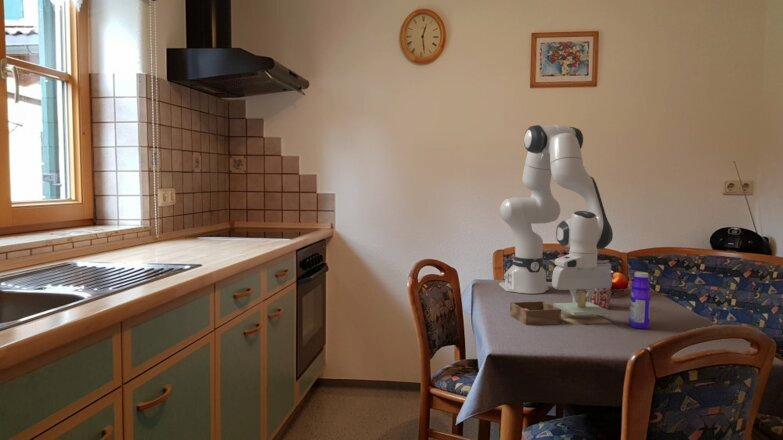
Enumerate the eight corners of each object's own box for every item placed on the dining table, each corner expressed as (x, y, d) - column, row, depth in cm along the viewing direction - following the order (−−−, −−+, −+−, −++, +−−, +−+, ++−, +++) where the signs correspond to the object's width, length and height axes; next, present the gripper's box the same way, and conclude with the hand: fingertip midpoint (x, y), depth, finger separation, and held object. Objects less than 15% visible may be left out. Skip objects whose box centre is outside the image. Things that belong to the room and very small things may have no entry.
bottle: (626, 323, 181) (628, 270, 180) (644, 324, 180) (647, 271, 179) (632, 329, 174) (635, 274, 173) (651, 330, 173) (654, 274, 172)
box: (509, 317, 187) (510, 302, 187) (542, 315, 190) (543, 301, 189) (525, 326, 175) (526, 310, 175) (560, 324, 178) (561, 309, 177)
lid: (553, 306, 189) (554, 288, 189) (587, 304, 192) (588, 287, 192) (573, 315, 177) (574, 296, 176) (610, 313, 179) (611, 295, 179)
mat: (550, 315, 190) (550, 313, 190) (587, 313, 193) (587, 312, 193) (572, 326, 177) (572, 324, 176) (611, 324, 180) (611, 322, 179)
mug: (610, 311, 198) (612, 273, 197) (584, 308, 202) (585, 271, 201) (613, 304, 209) (615, 268, 208) (588, 301, 213) (589, 266, 212)
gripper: (605, 258, 189) (603, 298, 190) (550, 259, 184) (548, 301, 185) (616, 261, 182) (614, 302, 183) (560, 262, 178) (558, 305, 179)
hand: (581, 302), depth 184 cm, fingers closed on lid, 3 cm apart
